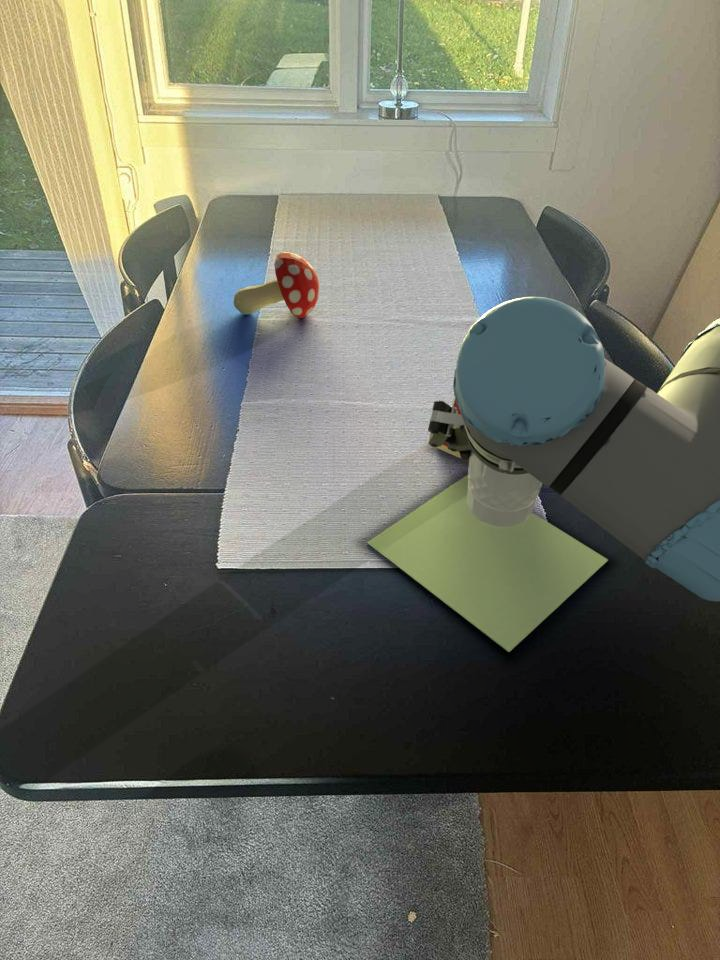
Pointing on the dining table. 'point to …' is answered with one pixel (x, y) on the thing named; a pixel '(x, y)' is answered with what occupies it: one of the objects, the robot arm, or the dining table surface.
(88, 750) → the dining table surface
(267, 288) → the decorative mushroom
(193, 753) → the dining table surface
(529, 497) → the white cup
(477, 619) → the placemat
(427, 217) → the dining table surface
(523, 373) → the robot arm
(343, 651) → the dining table surface
